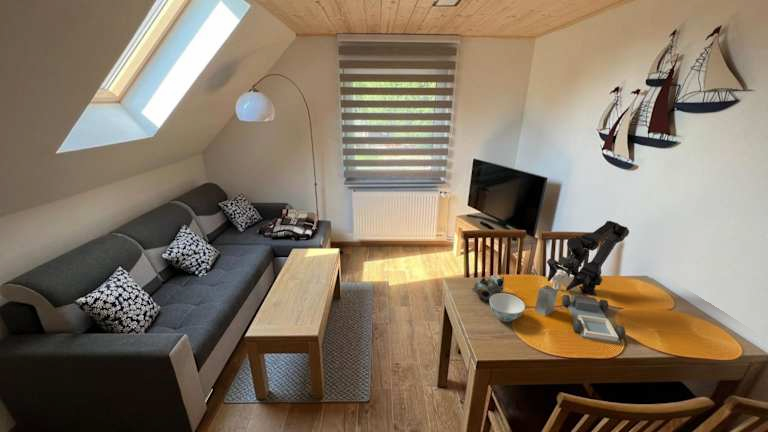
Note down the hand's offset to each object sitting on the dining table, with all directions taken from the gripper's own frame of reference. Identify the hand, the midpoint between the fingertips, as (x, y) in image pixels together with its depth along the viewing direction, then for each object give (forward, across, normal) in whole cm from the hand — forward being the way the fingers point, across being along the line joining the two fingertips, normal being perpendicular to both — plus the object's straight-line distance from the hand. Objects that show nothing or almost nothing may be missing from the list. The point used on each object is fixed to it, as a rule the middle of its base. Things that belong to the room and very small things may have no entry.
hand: (557, 285), depth 152 cm
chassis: (+4, +14, +13) cm, 20 cm away
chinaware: (+27, -6, -9) cm, 29 cm away
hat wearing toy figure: (-3, -9, +20) cm, 22 cm away
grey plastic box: (+13, 0, +4) cm, 14 cm away
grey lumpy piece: (+22, -23, -5) cm, 32 cm away
